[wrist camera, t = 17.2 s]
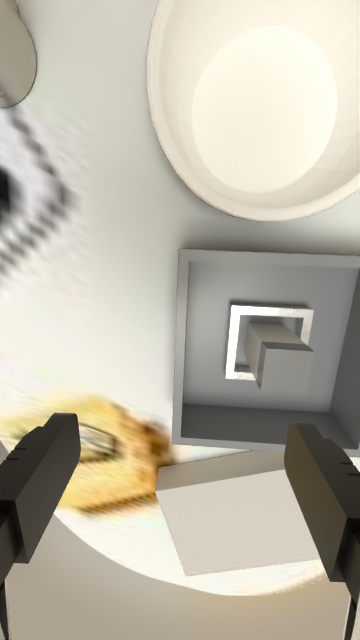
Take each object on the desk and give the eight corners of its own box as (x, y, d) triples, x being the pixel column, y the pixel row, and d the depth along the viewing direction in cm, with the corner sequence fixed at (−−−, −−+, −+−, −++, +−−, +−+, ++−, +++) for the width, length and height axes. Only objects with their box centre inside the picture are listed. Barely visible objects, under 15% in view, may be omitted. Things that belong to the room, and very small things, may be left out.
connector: (248, 322, 34) (266, 348, 26) (284, 324, 34) (314, 351, 26) (244, 355, 36) (260, 390, 27) (279, 357, 35) (306, 394, 27)
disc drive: (319, 526, 44) (335, 560, 40) (187, 545, 47) (186, 579, 42) (303, 437, 40) (318, 463, 35) (158, 464, 43) (154, 491, 38)
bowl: (167, 234, 33) (158, 231, 25) (148, 2, 27) (129, -99, 19) (358, 219, 32) (414, 210, 24) (382, -31, 26) (466, -156, 18)
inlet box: (182, 248, 33) (178, 249, 26) (365, 256, 33) (418, 259, 25) (176, 405, 39) (171, 444, 32) (331, 415, 38) (365, 457, 31)
